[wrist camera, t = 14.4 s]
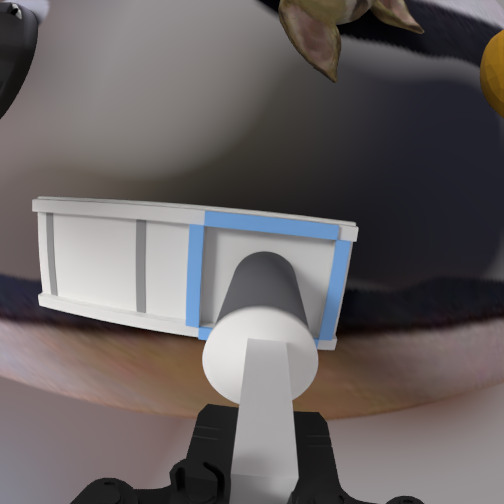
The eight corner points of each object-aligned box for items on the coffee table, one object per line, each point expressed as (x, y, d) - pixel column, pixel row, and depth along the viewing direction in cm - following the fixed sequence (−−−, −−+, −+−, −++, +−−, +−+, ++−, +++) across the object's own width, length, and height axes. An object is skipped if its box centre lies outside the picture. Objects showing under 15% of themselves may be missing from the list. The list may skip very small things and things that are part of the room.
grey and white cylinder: (233, 246, 22) (203, 306, 12) (301, 253, 22) (327, 318, 12) (229, 309, 24) (202, 401, 13) (293, 315, 23) (307, 410, 13)
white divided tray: (41, 196, 23) (30, 197, 21) (354, 222, 22) (360, 225, 21) (47, 302, 25) (38, 308, 23) (331, 344, 24) (334, 354, 23)
